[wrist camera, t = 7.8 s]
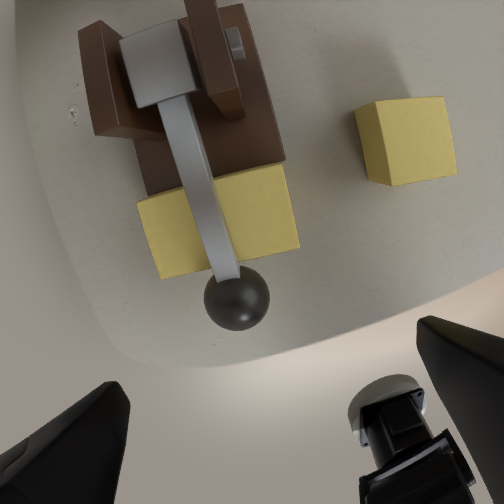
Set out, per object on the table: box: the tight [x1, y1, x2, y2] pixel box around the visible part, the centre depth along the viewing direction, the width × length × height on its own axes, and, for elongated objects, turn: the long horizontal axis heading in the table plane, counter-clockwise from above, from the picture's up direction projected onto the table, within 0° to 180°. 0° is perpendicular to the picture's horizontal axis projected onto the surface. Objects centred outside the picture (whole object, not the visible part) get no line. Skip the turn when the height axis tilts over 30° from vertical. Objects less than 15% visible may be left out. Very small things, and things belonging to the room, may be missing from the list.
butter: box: [136, 163, 300, 279], centre depth 16 cm, size 4×7×4 cm, turn 104°
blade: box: [119, 19, 270, 331], centre depth 13 cm, size 14×3×3 cm, turn 14°
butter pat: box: [354, 96, 457, 186], centre depth 15 cm, size 4×4×4 cm
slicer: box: [78, 0, 285, 196], centre depth 12 cm, size 10×8×9 cm
